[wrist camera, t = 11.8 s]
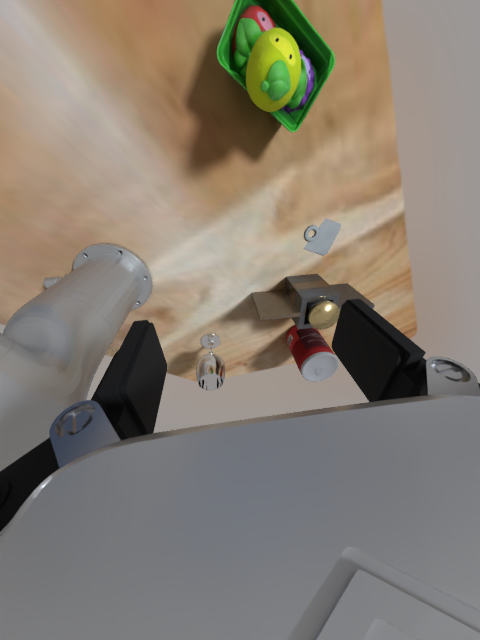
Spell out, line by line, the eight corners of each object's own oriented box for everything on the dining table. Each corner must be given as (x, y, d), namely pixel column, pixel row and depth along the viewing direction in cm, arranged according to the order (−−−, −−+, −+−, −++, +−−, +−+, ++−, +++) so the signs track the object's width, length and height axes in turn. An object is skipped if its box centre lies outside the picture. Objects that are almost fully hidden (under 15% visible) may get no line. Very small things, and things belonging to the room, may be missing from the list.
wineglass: (218, 352, 52) (220, 394, 42) (195, 347, 50) (191, 389, 40) (226, 334, 49) (231, 374, 39) (202, 328, 47) (200, 369, 37)
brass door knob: (291, 279, 43) (312, 305, 34) (316, 276, 43) (343, 302, 35) (289, 301, 46) (308, 330, 37) (313, 299, 46) (336, 327, 38)
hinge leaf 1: (317, 273, 43) (339, 294, 36) (312, 301, 47) (332, 325, 39) (251, 280, 42) (260, 302, 35) (252, 307, 46) (260, 333, 38)
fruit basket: (319, 75, 27) (376, 25, 18) (278, 150, 31) (307, 139, 22) (245, -11, 23) (270, -135, 14) (207, 88, 27) (207, 42, 18)
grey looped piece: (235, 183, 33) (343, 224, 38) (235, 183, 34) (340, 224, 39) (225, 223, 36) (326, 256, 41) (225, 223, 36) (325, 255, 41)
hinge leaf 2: (284, 304, 46) (298, 329, 39) (286, 276, 42) (302, 298, 35) (343, 298, 47) (368, 321, 40) (350, 270, 43) (379, 290, 36)
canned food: (293, 352, 55) (310, 387, 46) (279, 332, 50) (295, 366, 41) (321, 337, 53) (344, 370, 44) (309, 315, 49) (331, 347, 40)
